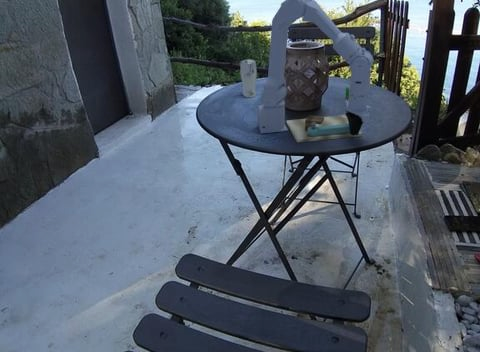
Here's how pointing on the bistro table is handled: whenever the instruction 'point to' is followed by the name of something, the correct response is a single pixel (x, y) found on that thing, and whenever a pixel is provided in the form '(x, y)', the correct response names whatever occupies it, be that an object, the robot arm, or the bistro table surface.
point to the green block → (347, 92)
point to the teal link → (327, 129)
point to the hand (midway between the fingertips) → (354, 134)
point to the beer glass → (248, 77)
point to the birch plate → (302, 135)
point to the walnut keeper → (313, 119)
